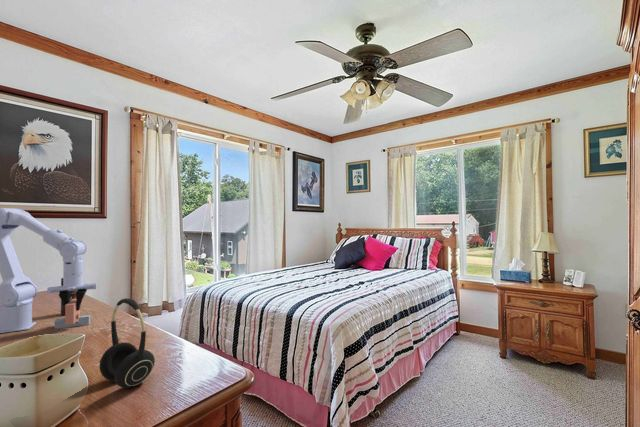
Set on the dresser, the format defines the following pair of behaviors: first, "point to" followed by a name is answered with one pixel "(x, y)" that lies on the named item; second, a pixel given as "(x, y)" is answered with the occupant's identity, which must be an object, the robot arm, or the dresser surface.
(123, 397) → the dresser surface
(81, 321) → the grey block
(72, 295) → the deodorant
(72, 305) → the pink rectangular block
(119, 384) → the headphones
